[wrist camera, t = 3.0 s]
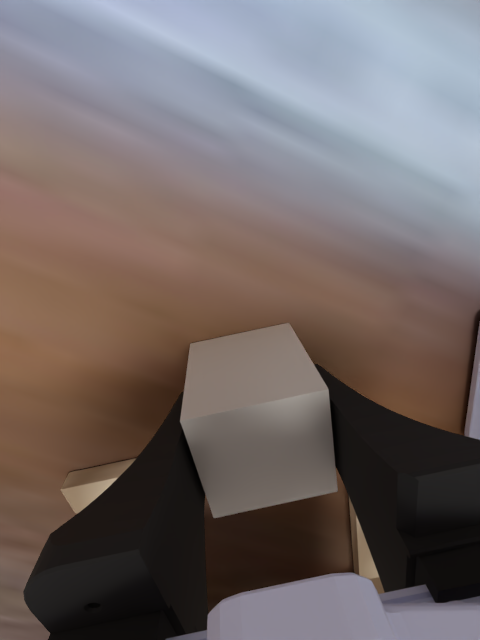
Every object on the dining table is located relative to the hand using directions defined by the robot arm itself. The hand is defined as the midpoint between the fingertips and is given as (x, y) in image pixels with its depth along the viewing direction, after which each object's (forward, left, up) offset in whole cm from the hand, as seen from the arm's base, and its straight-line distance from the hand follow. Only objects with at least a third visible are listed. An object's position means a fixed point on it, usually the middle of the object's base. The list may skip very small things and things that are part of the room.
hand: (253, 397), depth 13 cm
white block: (0, 0, -2) cm, 2 cm away
